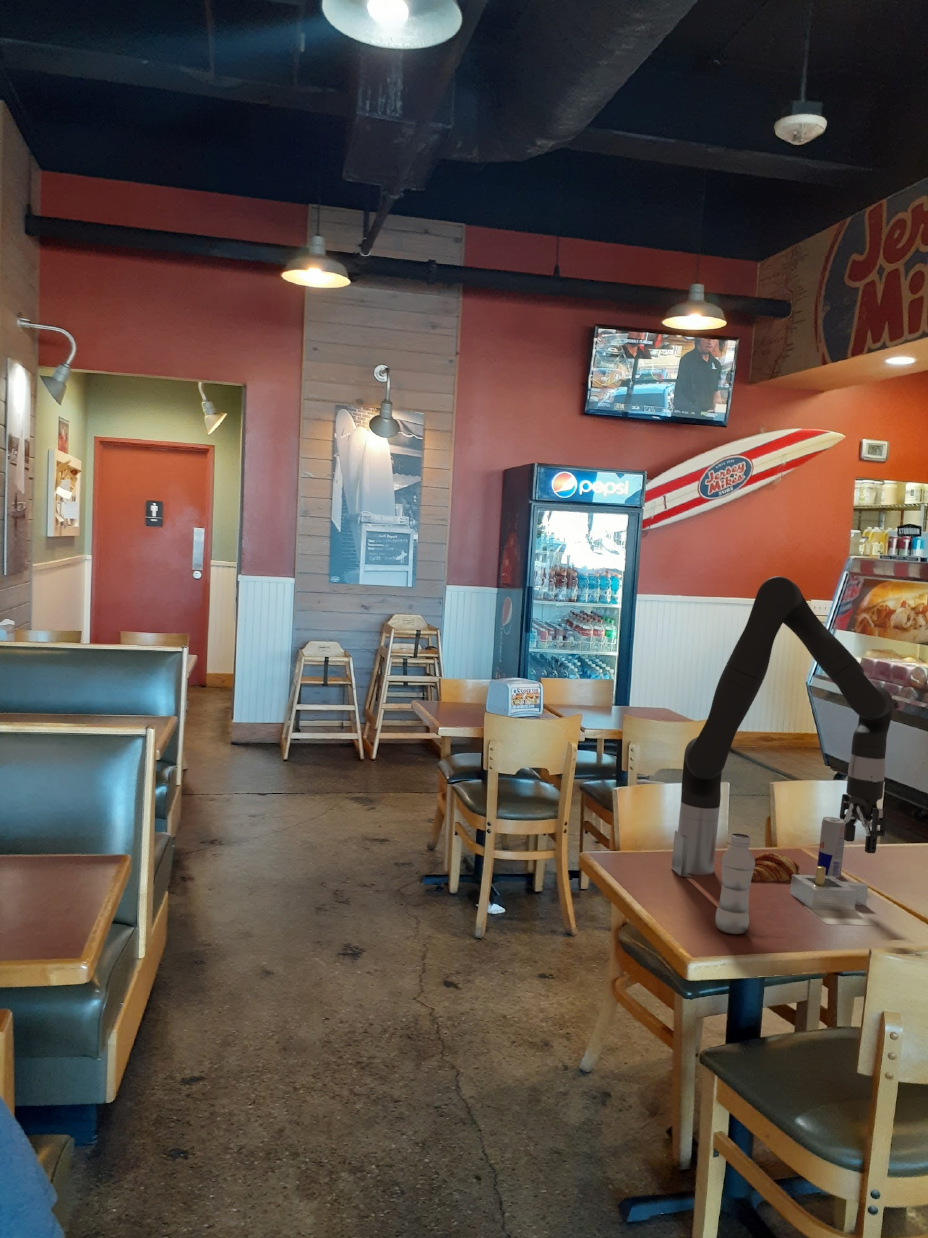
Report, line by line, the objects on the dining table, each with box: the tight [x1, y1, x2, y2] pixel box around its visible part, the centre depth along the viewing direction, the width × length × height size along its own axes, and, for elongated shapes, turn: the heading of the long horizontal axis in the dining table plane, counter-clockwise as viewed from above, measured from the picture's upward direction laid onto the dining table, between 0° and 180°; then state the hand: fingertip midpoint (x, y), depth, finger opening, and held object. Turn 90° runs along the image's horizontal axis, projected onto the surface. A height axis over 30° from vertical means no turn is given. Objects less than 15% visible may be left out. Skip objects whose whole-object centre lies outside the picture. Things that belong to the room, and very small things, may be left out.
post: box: [814, 865, 826, 887], centre depth 208 cm, size 2×2×8 cm
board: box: [802, 905, 880, 927], centre depth 205 cm, size 16×19×1 cm
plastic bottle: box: [714, 832, 755, 935], centre depth 189 cm, size 6×7×20 cm
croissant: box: [751, 852, 801, 882], centre depth 227 cm, size 21×10×8 cm, turn 131°
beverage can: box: [816, 816, 845, 879], centre depth 230 cm, size 6×6×15 cm
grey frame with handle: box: [789, 874, 869, 911], centre depth 209 cm, size 15×10×4 cm, turn 97°
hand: (859, 847), depth 209 cm, fingers open, 8 cm apart
